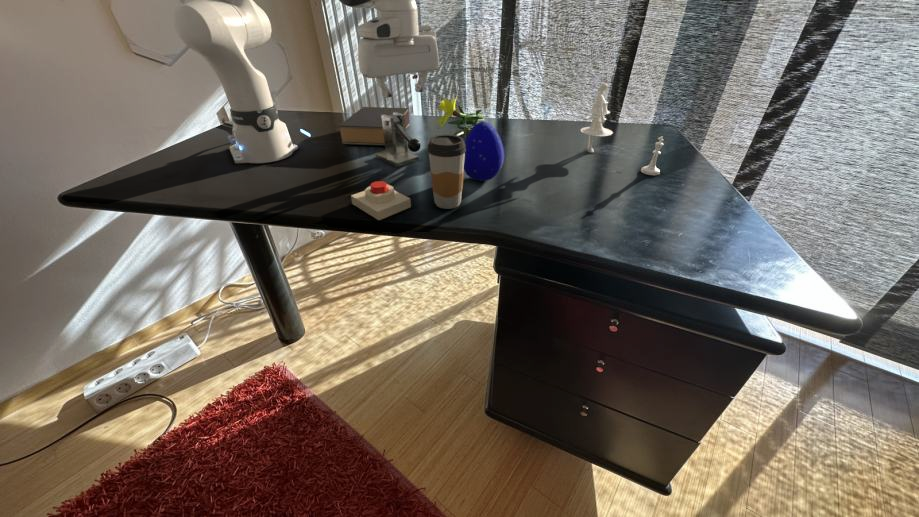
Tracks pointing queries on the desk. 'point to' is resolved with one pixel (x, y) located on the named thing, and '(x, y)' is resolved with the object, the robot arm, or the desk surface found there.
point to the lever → (406, 135)
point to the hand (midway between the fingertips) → (403, 94)
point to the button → (378, 187)
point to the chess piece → (653, 160)
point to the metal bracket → (395, 143)
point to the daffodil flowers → (466, 118)
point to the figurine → (597, 118)
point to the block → (381, 202)
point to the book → (368, 125)
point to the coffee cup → (447, 169)
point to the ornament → (483, 152)
